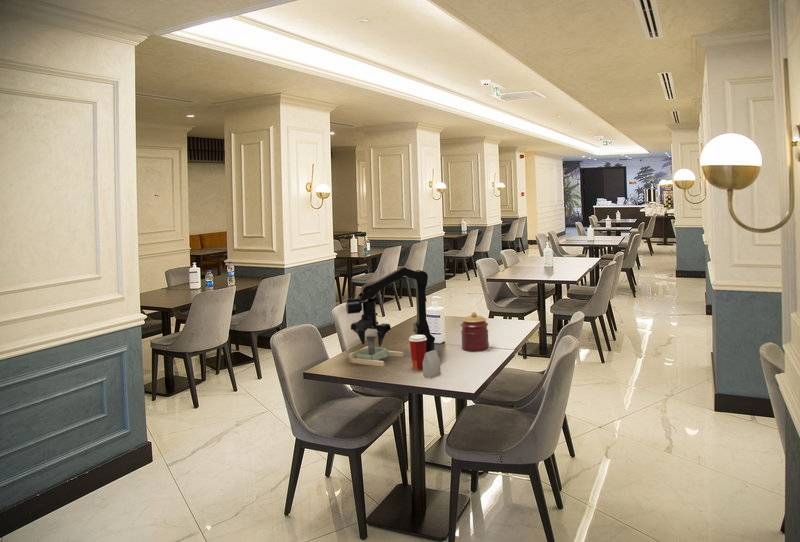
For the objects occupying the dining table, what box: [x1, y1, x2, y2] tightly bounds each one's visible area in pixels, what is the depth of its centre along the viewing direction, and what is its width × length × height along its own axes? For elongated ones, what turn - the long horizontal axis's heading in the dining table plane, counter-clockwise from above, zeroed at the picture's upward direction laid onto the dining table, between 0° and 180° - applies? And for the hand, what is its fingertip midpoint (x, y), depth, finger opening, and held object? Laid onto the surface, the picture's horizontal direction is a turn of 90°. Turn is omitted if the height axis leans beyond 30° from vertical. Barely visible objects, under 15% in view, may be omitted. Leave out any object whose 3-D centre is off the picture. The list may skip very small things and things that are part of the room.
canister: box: [460, 311, 490, 352], centre depth 272 cm, size 13×13×18 cm
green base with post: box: [356, 335, 389, 361], centre depth 261 cm, size 9×13×10 cm
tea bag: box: [422, 349, 442, 379], centre depth 233 cm, size 4×7×10 cm, turn 136°
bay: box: [348, 345, 405, 367], centre depth 260 cm, size 18×18×5 cm
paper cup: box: [408, 334, 427, 371], centre depth 244 cm, size 8×8×14 cm
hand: (371, 345), depth 261 cm, fingers open, 9 cm apart
